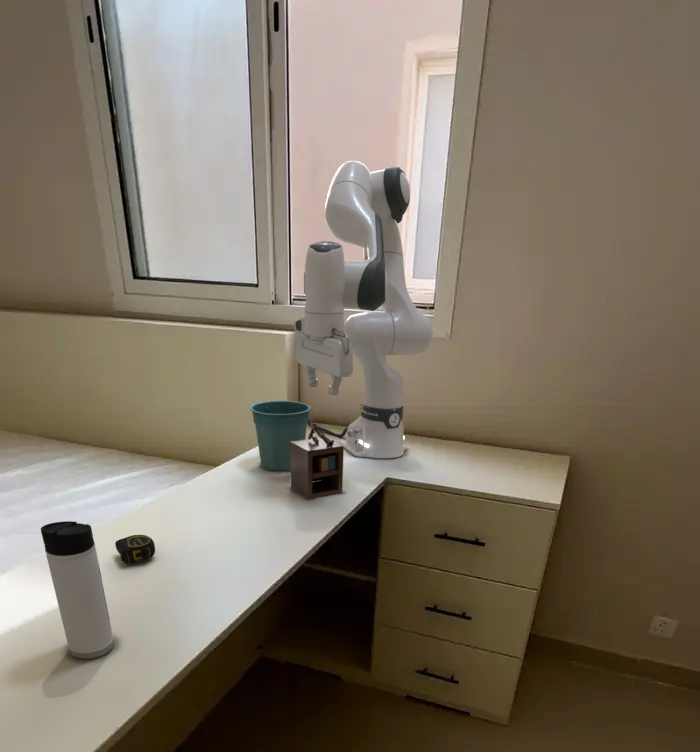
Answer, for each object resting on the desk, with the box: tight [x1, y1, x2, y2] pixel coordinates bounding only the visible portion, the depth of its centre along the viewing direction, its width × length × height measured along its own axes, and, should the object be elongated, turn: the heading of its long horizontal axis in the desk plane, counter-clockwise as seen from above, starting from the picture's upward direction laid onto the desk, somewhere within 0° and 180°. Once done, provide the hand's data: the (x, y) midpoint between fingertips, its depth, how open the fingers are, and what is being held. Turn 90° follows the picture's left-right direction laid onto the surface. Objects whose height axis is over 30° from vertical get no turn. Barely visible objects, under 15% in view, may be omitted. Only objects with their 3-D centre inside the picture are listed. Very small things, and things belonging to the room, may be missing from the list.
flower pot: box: [249, 400, 312, 472], centre depth 167 cm, size 16×16×16 cm
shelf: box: [290, 437, 345, 500], centre depth 151 cm, size 9×10×12 cm
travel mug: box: [40, 520, 115, 660], centre depth 85 cm, size 6×7×20 cm
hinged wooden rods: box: [307, 422, 335, 448], centre depth 147 cm, size 2×8×4 cm, turn 45°
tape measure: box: [114, 534, 156, 565], centre depth 116 cm, size 7×7×4 cm
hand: (323, 390), depth 142 cm, fingers open, 8 cm apart
